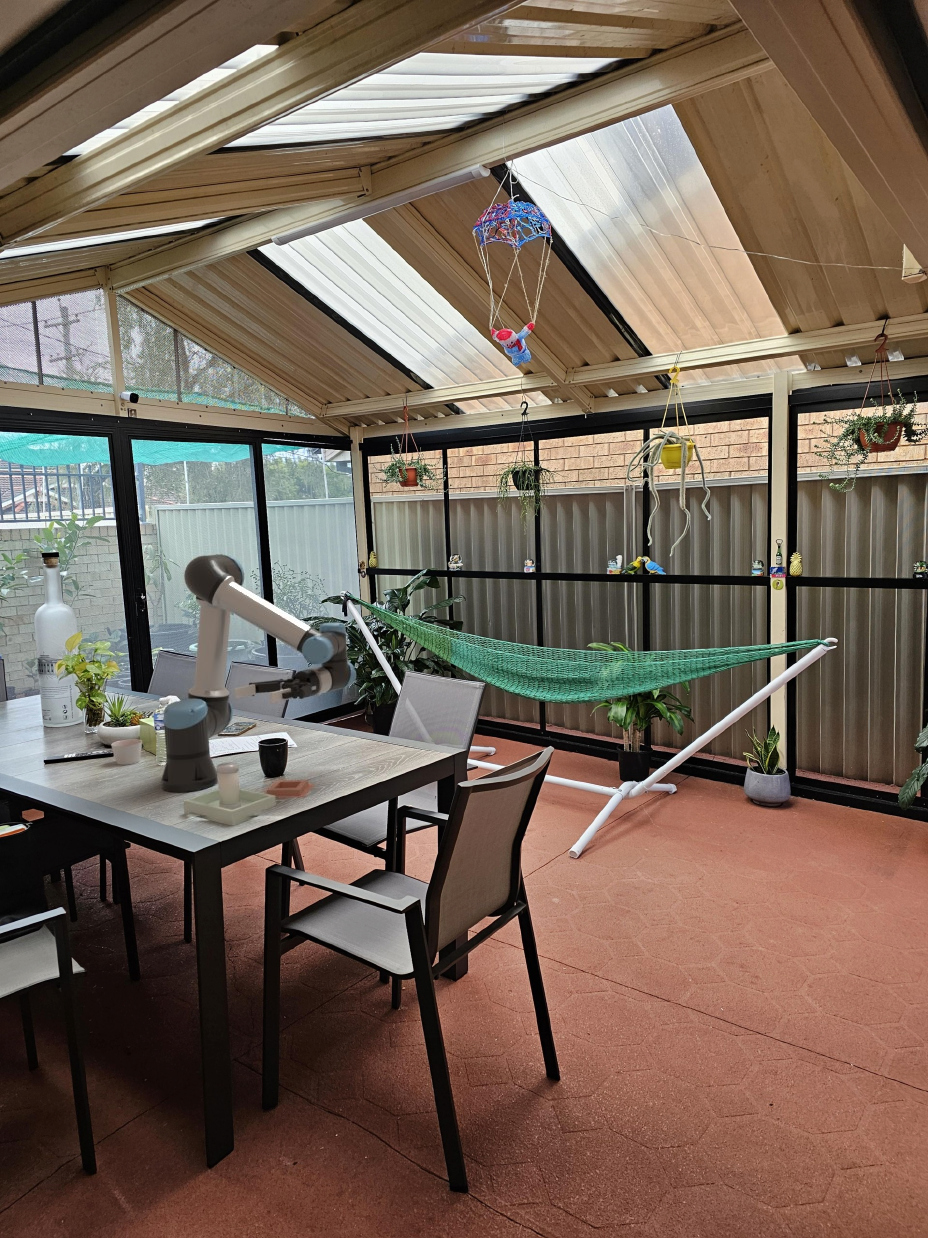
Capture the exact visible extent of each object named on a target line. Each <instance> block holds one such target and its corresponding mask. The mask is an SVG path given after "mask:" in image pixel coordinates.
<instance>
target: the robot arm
mask: <svg viewBox="0 0 928 1238" xmlns="http://www.w3.org/2000/svg"><path fill="white" fill-rule="evenodd" d="M185 567H186V568H185V570H184V575H183V577H184V583H185V585H186V588H188V590H189V591H190V592H191V593H192V594H193V595H195V601H197V603H198V604H199V605H200V611H199V620H198V621H199V622H198V634H197V635H198V636H197V646H196V661H195V663H196V664H195V672H194V685H193V686H192V687H191V688H189V689H188V695H187V698H185V699H181V700H178V701H177V700H176V701H174V702H173V701H172V702H171V703H169V704H168V705H166V706H165V708H164V710H163V718H162V721H163V727H164V728H163V729H164V731H163V732H164V740H165V741H164V742H165V754H166V756H165V757H166V760H165V765H164V769H163V772H162V777H161V782H160V783H161V789H163V790H164V791H166V792H171V793H172V792H173V793H184V792H186V793H187V792H194V791H200V790H204V789H208V788H210V787H212V786H215V785H217V783H218V773H217V768H216V767H215V764H214V762H213V760H212V757H211V755H210V754H211V752H210V751H211V750H210V738H212V737H214V736H216V735H218V734H221V733H223V731H224V730H226V728H227V727H228V726H229V725H230V724H231V721H232V719H233V716H234V709H233V705H232V703H231V701H230V691H229V690H228V689H227V687H225V686H226V685H225V683H226V674H227V673H226V672H227V671H226V670H227V661H228V649H229V637H230V636H229V635H230V624H231V614H232V613H233V614H234V615H235V616H238V617H239V618H241V619H243V620H244V621H246V622H248V623H249V624H251V625H252V626H254V627H256V628H258V629H260V630H261V631H263V632H264V633H266V634H267V635H270V636H272V637H273V638H275V639H277V640H278V641H279V642H282V643H284V644H285V645H287V646H288V647H290V648H292V649H294V650H295V651H297V652H299V653H300V654H302V656H303V658H304V659H305V661H306V662H308V663H309V664H311V665H321V666H317V667H312V668H308V669H304V670H299V671H297V672H296V673H295V674H294V676H293V678H291V677H290V678H286V679H283V678H279V679H274V680H266V681H265V680H264V681H256V682H248V685H243V686H239V687H235V688H234V689H233V690H234V691H233V692H234V699H236V700H237V699H240V698H245V697H251V696H252V697H255V695H256V694H262V693H263V694H264V693H265V694H266V693H269V696H270V697H269V698H270V704H276V703H281V702H285V701H289V700H292V699H294V700H295V699H297V698H298V699H300V700H303V699H306V698H310V697H313V696H315V695H317V696H318V697H319V696H321V695H322V694H324V693H328V692H332V691H333V692H334V691H337V690H343V689H345V688H348V687H350V686H352V685H353V684H354V683H355V681H356V679H357V672H356V668H355V667H354V665H353V664H352V663H351V662H350V661H348V651H347V650H348V648H347V647H348V646H347V631H346V625H345V623H343V622H324V623H321V624H320V625H319V631H318V630H317V629H315V628H313V627H312V626H310V625H308V624H307V623H305V622H303V621H301V620H300V619H298V618H297V617H295V616H293V615H291V614H290V613H288V612H286V611H285V610H283V609H281V608H280V607H278V606H277V605H274V604H273V603H271V602H270V601H268V600H266V599H264V598H263V597H261V596H259V595H257V594H256V593H254V592H252V591H251V590H249V589H247V587H244V586H243V584H244V581H245V571H244V568H243V566H242V564H241V563H240V562H239V561H238V560H237V559H236V558H234V557H232V556H231V555H226V554H218V553H217V554H210V555H199V556H197V557H195V558H193V559H191V561H190V562H189V563H188V564H187V565H186V566H185Z"/></svg>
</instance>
